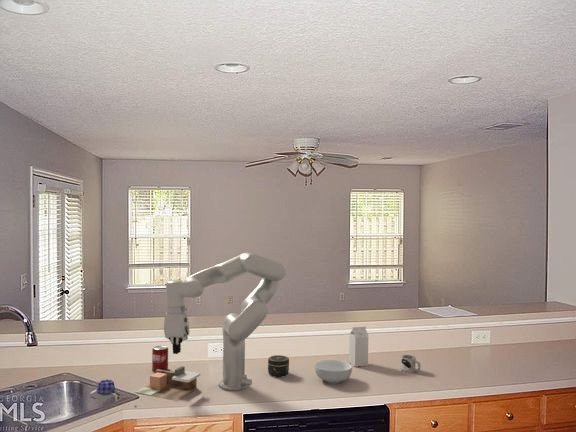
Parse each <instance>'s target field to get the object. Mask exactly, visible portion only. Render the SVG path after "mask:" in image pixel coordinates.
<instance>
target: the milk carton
mask: <svg viewBox="0 0 576 432" xmlns="http://www.w3.org/2000/svg"><path fill="white" fill-rule="evenodd" d="M367 331H368V330H367V329H366V326H354V327H352V329H351V331H350V332H349V344H348V345H349V347H348V349H349V350H348V356H349V357H348V363H349V364H350V363H351V365H352V367H354V366H355V367H354V368H359V367H358V366H361V367H368V366H369V335H368V332H367Z"/></svg>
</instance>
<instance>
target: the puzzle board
mask: <svg viewBox="0 0 576 432" xmlns="http://www.w3.org/2000/svg"><path fill="white" fill-rule="evenodd" d="M157 372H158V373H164V374H167V386H165V387H163V388H161V389H160V390H159V389H154V388H150V383H149V384H148V385H146V386H143V387H142V388H140V389H138V390H136V391H134V392H133V393H135V394H139V395H145V396H150V397H154V398H159V399H165V400H169V401H175V402H177V401H179V400H182V398H184V397H186V396H187V395H188V394H191V393H192V392H193V391H195V390H197V389H198V388H197V385H198V383H197V382H198V380H197V379H198V377H197V378H196V379H194V380H192V381H190V382H189V383H188V382H182V381H176V380H172V377H173V376H175V371H171V370H167V371H166V370H160V369H157V370H156V372H155V373H157Z"/></svg>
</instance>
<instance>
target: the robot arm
mask: <svg viewBox="0 0 576 432" xmlns="http://www.w3.org/2000/svg"><path fill="white" fill-rule="evenodd" d="M286 272H287V270H286V266H285V265H284V264H283V263H282V262H279V261H276V260H273V259H270V258H267V257H263V256H261V255H258V254H256V253H253V252H250V251H248V252H247V251H246V252H243V253H241V254H239V255H237V256H235V257H231V258H230V259H228V260H226V261H224V262H221V263H218V264H216V265H214V266H211V267H209V268H206V269H202V270H200V271H198V272H196V273H194V274H192V275H190V276H188V277H186V279H184V281H183V280H181V279H172V280H168V281H167V282H166V283H165V300H166V301H165V303H166V312H165V315H164V320H163V323H164V324H163V333H164V337H165V339H167V340H169V341H170V344H171V345H172V354H173V355H174V354H175V355H178V354H180V353H181V352H182V348H181V347H182V345H181V344H182V343H183V342H184V341H187V340H188V339H189V338H188V336H189V335H190V325H189V324H190V322H189V315H188V313H187V311H188V308H187V307H186V301H185V300H186V298H193V299H194V298H198V297H200V296H202V295H203V293H204V288H206V287H209V286H212V285H215V284H225V283H228V282H231V281H233V280H235V279H237V278H239V277H241V276H243V275H245V274H247V273H248V274H250V275H253V276H256V277H260V278H261V280H260V281H259V283H258V284H257V286H256V287H255V288H254V290H253V291H251V292H250V294H249V295H247V296H246V297H245V299H244V300H243V301H242V302H241V305H240V310H241V312H240V314H239V313H237V312H236V313H235V312H232V313H231V312H230V313H229V314H227V315H226V316H225V317H224V318H223V321H222V340H223V341H222V345H223V346H222V380H220V381H219V383H218V386H219V388H220V389H222V390H225V391H241V390H244V389H246V388H247V387H248V386H252V385H253V380H252V378H248V377H247V374H245V372H246V371H245V370H246V369H245V368H246V367H245V366H246V364H245V363H246V361H245V359H246V356H245V355H246V339H247V338H248V337H249V336H251V334H252V333H253V332H254V331H256V329H257V328H258V327H259V326H260V325H261V324H262V323H263V321H264V320H265V319H266V318H267V315H268V309H269V308H268V304H269V302H270V301H271V300H272V299H273V298H274V296H275V295H276V293H277V291H278V289H279V287H280V281H282V280H283V279H284V278H285V276H286V274H287V273H286Z"/></svg>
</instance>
